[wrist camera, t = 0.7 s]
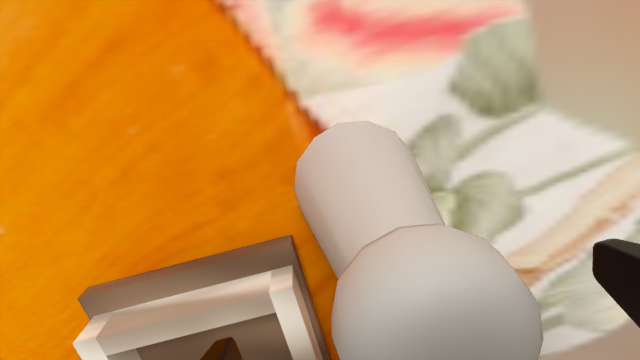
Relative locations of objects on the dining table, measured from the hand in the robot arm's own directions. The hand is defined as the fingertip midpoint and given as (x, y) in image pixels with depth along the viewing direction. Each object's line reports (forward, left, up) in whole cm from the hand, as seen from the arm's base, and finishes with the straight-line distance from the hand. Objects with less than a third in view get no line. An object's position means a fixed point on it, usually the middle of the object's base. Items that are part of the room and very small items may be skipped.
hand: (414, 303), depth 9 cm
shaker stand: (-10, +10, -11) cm, 18 cm away
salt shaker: (0, 0, -11) cm, 11 cm away
